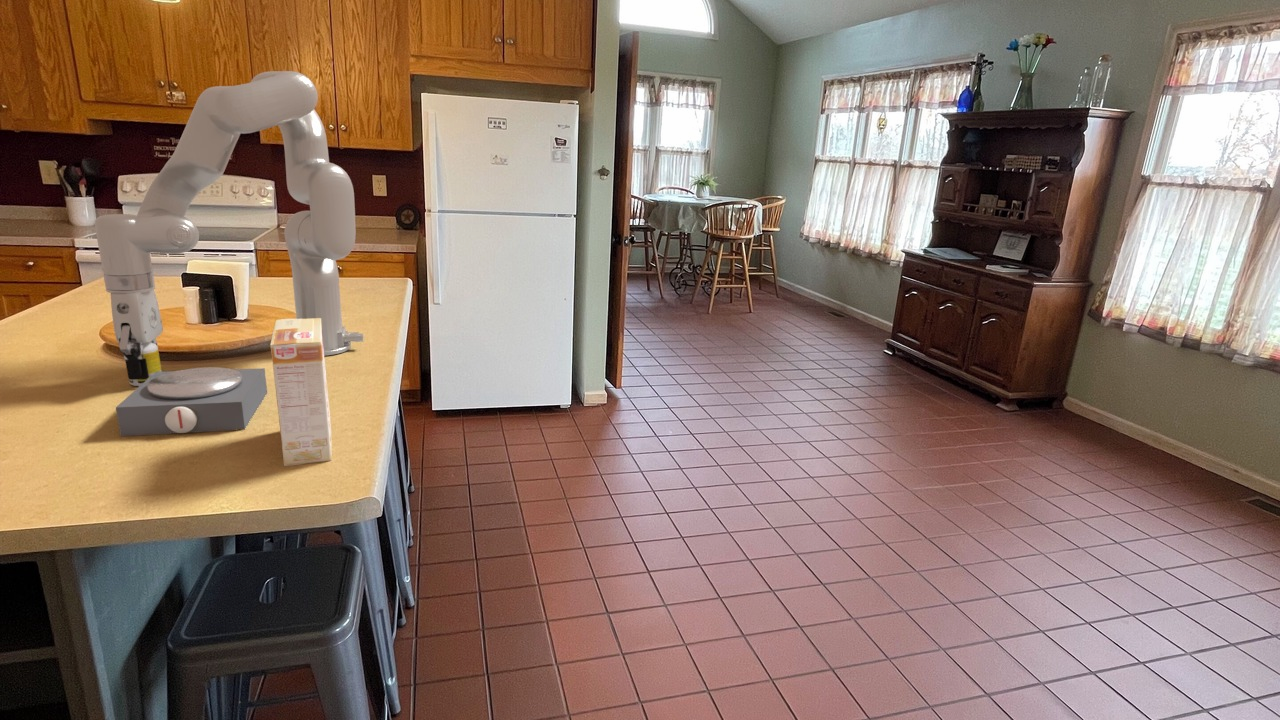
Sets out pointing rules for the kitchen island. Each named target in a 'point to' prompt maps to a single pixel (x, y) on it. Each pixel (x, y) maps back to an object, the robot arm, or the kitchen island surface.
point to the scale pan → (194, 383)
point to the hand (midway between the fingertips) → (144, 372)
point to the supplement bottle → (148, 361)
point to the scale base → (192, 408)
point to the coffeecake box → (301, 390)
